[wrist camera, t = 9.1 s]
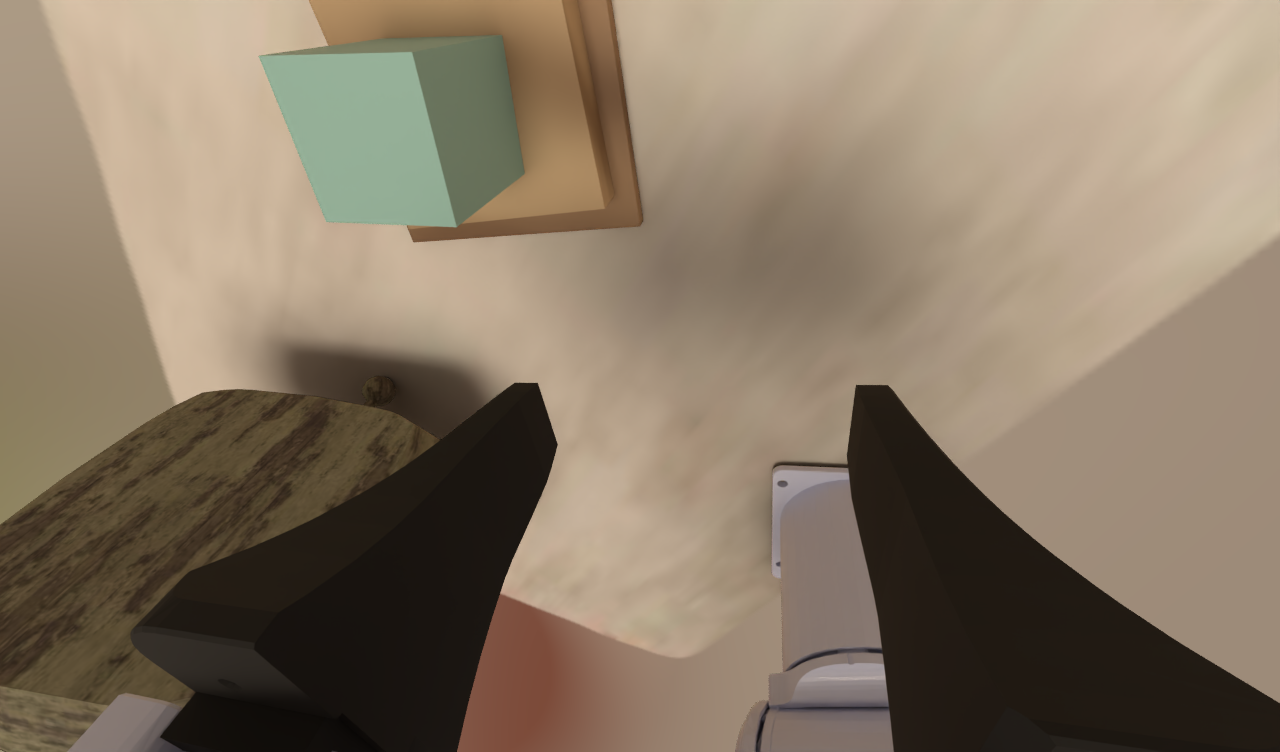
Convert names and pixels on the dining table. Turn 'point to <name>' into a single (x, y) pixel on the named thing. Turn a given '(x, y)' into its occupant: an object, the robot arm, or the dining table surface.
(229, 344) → the dining table surface
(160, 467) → the tabletop clock
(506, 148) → the block
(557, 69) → the top slab
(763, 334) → the dining table surface
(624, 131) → the bottom slab
